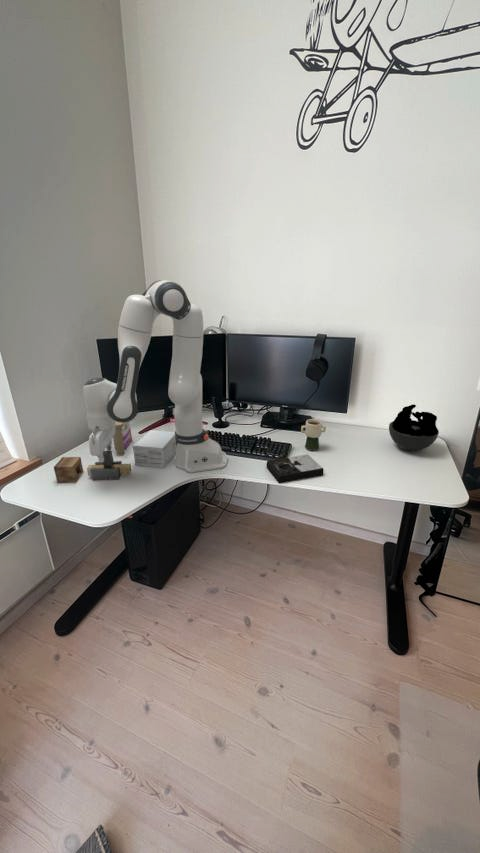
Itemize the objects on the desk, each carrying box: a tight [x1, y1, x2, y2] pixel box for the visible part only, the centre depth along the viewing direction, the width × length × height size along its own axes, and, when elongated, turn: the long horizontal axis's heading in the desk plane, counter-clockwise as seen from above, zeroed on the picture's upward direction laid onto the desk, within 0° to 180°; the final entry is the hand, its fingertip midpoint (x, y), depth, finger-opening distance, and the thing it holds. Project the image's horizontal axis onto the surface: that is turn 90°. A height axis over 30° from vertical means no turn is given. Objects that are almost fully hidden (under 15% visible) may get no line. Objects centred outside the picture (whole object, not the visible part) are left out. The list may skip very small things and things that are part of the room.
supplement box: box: [132, 429, 176, 469], centre depth 152 cm, size 17×13×9 cm
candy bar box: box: [112, 421, 133, 451], centre depth 162 cm, size 11×5×16 cm, turn 179°
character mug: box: [300, 418, 327, 451], centre depth 158 cm, size 11×7×13 cm, turn 90°
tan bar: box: [86, 449, 133, 477], centre depth 137 cm, size 16×3×9 cm, turn 93°
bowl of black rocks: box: [388, 404, 440, 451], centre depth 156 cm, size 20×20×19 cm
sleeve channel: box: [91, 460, 123, 482], centre depth 138 cm, size 10×6×5 cm, turn 93°
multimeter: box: [266, 453, 325, 484], centre depth 141 cm, size 13×19×5 cm
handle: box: [113, 421, 125, 456], centre depth 154 cm, size 5×6×15 cm
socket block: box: [53, 456, 84, 484], centre depth 137 cm, size 7×8×7 cm
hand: (105, 455), depth 135 cm, fingers open, 8 cm apart
